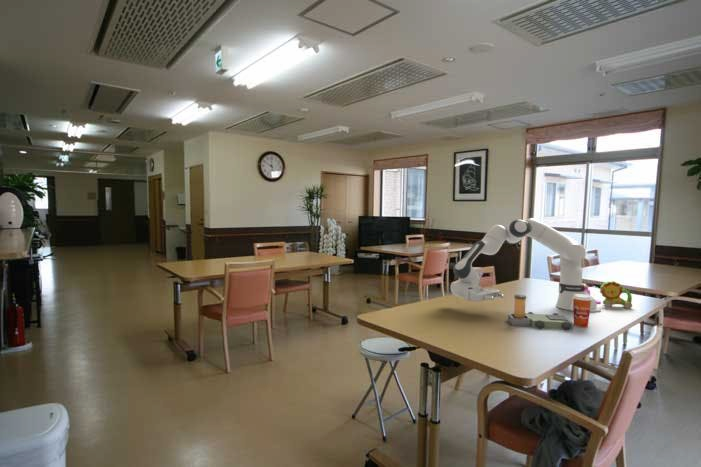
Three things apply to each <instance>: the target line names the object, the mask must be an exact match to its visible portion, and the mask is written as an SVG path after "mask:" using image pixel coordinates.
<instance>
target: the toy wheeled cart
mask: <svg viewBox="0 0 701 467" xmlns="http://www.w3.org/2000/svg"><path fill="white" fill-rule="evenodd" d="M525 314H526V315H528V316H529V317H530V318H531V319H532V324H531V326H530V327H531V328H533V329H538V330H542V329H546V330H547V329H549V330H550V329H552V330H564V331H567V330H568V331H573V330H574V321H571V320H570V319H568V318H567V317H566V316H565V315H561V314H558V313H556V312H554V313H552V314H544V313H543V314H542V313H534V312H532V311H528V312H527V313H526V312H525Z"/></svg>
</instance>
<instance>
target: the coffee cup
mask: <svg viewBox="0 0 701 467" xmlns="http://www.w3.org/2000/svg"><path fill="white" fill-rule="evenodd" d="M591 300H592V299H591V295H590V296H588V295H583V294H574V296H573V311H572V312H573V326H575V325H576V326H575V327H578V326H579V328H588V326H589V321H590V320H589V319H590V314H591V313H590V305H591Z"/></svg>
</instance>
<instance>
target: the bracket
mask: <svg viewBox="0 0 701 467" xmlns="http://www.w3.org/2000/svg"><path fill="white" fill-rule="evenodd" d="M585 292H587V293H588V294H589V295H590V296H591V290H590V289H589V288H588V290H585ZM595 301H596V305H600V304H601V302H602V301H601V300H599V299H595Z"/></svg>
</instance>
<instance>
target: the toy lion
mask: <svg viewBox="0 0 701 467" xmlns="http://www.w3.org/2000/svg"><path fill="white" fill-rule="evenodd" d="M599 292H600V294H601V296H602V297H603V298H605V299H603V301H602V304H603V305H604V306H606V307H607V308H611V307H612V306H614V305H621V306H622V307H624V308H626V309H631V308H632V307H633V304H632V301H633V300H632V299H633V298H632V297H633V296H632V293H630V291H628V290H627V289H625V288H624V287H623V286H622V285H621V284H620V283H619V282H616V281H614V280H612V281H606V282H602V285H600V290H599ZM622 294H626V295H627V298H626V300H625V299H624V298H622V297H620V296H621V295H622Z"/></svg>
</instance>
